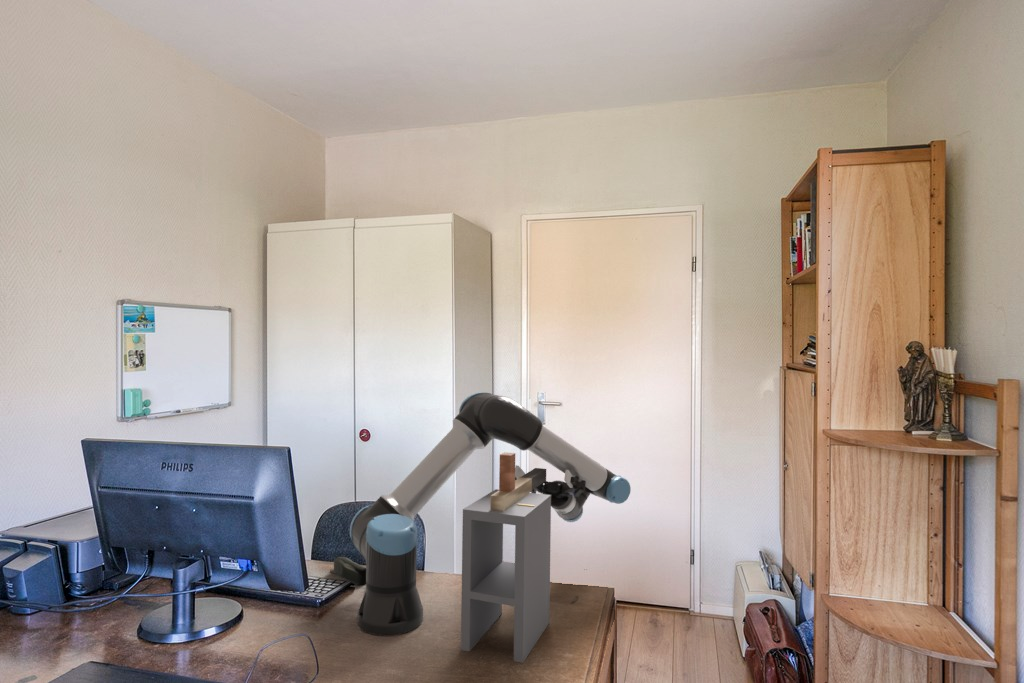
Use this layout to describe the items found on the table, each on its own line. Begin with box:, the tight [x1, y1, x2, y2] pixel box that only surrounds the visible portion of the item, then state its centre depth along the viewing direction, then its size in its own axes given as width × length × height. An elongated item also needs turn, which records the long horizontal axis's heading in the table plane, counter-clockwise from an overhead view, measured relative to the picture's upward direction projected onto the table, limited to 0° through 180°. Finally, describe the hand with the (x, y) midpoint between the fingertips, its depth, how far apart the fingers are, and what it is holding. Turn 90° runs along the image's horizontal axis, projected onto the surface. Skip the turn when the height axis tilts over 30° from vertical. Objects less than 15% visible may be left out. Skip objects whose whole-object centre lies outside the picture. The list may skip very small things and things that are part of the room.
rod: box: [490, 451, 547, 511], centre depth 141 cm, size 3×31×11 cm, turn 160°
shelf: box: [460, 488, 552, 664], centre depth 133 cm, size 14×19×30 cm
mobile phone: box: [329, 556, 366, 587], centre depth 164 cm, size 5×3×15 cm
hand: (540, 472), depth 153 cm, fingers open, 13 cm apart
